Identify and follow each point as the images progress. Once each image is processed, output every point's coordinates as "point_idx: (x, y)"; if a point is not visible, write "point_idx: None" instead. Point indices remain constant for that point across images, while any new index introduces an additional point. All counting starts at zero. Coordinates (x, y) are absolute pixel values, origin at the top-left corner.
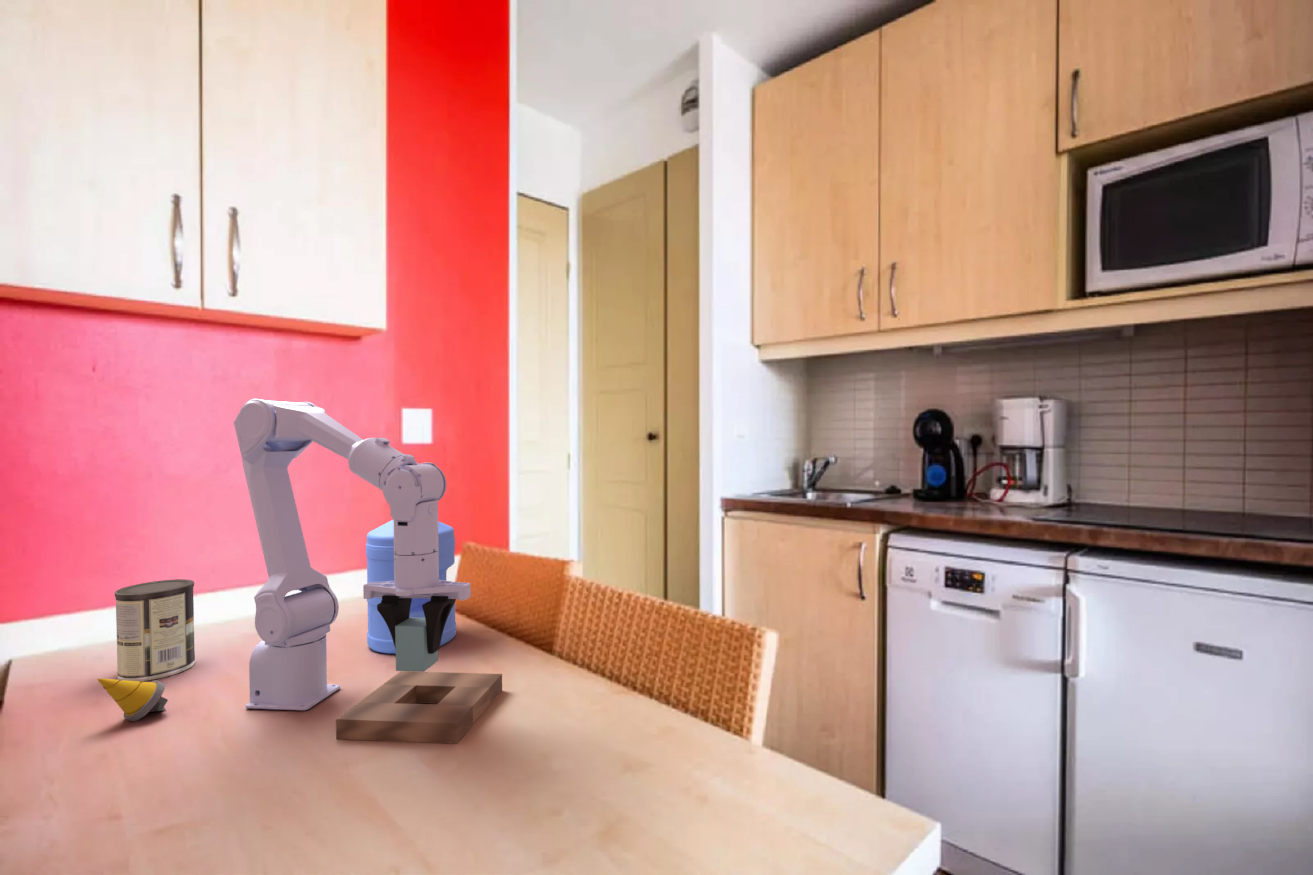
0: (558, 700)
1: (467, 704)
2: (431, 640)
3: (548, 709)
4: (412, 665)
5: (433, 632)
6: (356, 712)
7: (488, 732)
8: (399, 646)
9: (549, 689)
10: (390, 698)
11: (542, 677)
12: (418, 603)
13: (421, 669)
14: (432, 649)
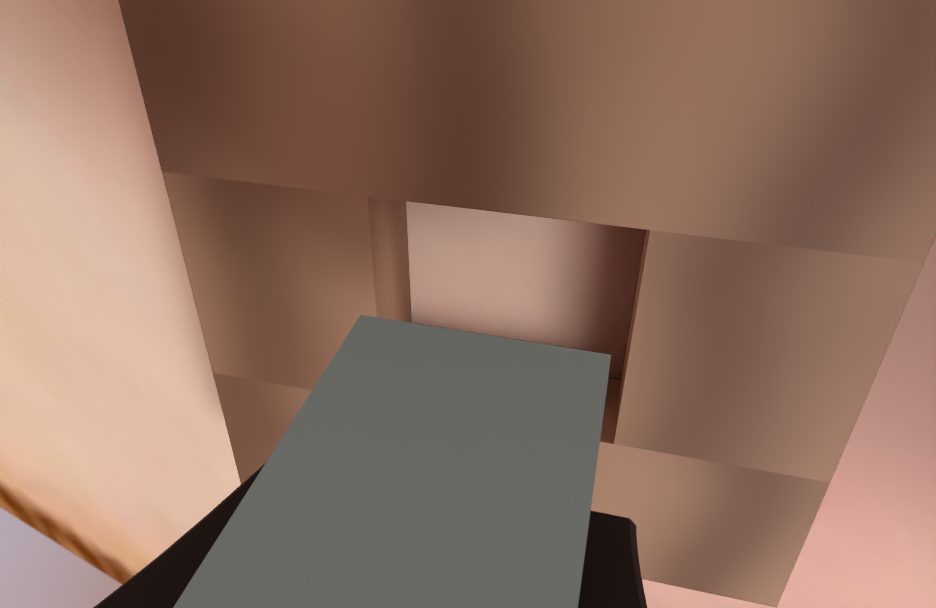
0: (21, 334)
1: (200, 191)
2: (202, 534)
3: (6, 263)
4: (448, 363)
5: (115, 599)
6: (889, 97)
7: (104, 51)
8: (541, 521)
9: (110, 423)
10: (703, 299)
11: (193, 515)
12: None
13: (376, 327)
14: (257, 473)
